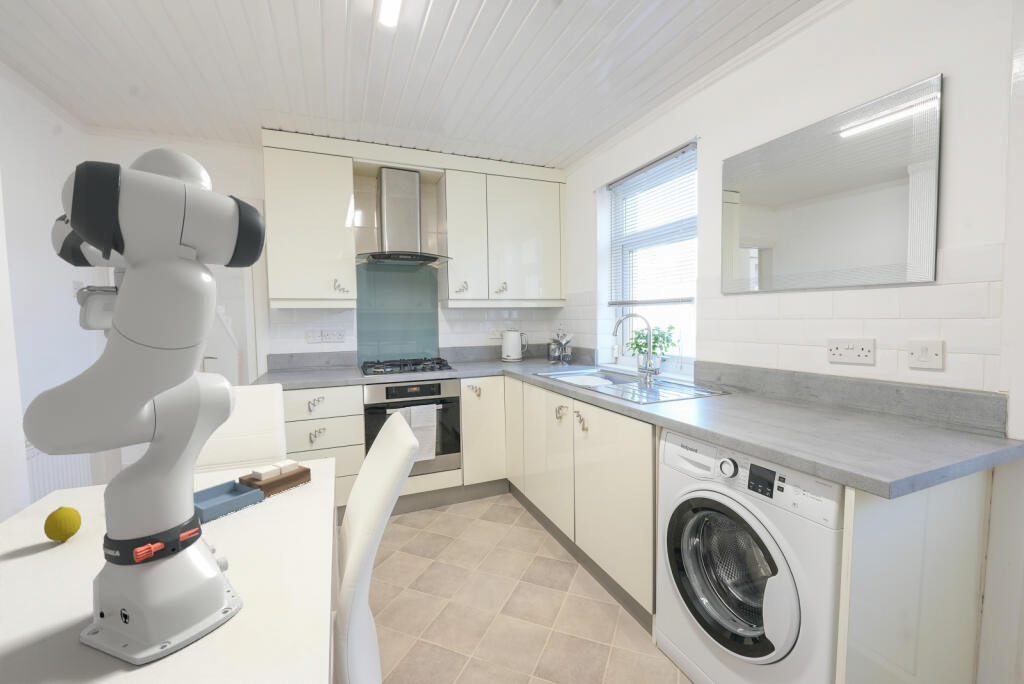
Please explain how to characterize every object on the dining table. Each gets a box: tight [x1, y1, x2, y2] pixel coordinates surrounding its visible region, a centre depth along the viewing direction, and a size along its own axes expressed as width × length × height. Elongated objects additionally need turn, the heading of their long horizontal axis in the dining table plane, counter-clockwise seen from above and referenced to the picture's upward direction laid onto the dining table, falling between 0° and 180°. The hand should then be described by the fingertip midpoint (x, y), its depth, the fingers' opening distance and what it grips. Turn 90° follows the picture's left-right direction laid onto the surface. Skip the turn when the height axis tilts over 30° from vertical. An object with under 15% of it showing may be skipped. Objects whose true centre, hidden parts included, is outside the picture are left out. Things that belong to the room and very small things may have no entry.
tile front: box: [251, 464, 280, 480], centre depth 116 cm, size 5×5×2 cm
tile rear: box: [271, 458, 299, 474], centre depth 121 cm, size 5×5×2 cm
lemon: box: [43, 505, 82, 543], centre depth 90 cm, size 6×6×8 cm
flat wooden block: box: [238, 464, 312, 498], centre depth 118 cm, size 12×14×4 cm
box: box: [194, 479, 265, 524], centre depth 107 cm, size 14×14×4 cm
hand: (146, 349), depth 92 cm, fingers open, 8 cm apart
